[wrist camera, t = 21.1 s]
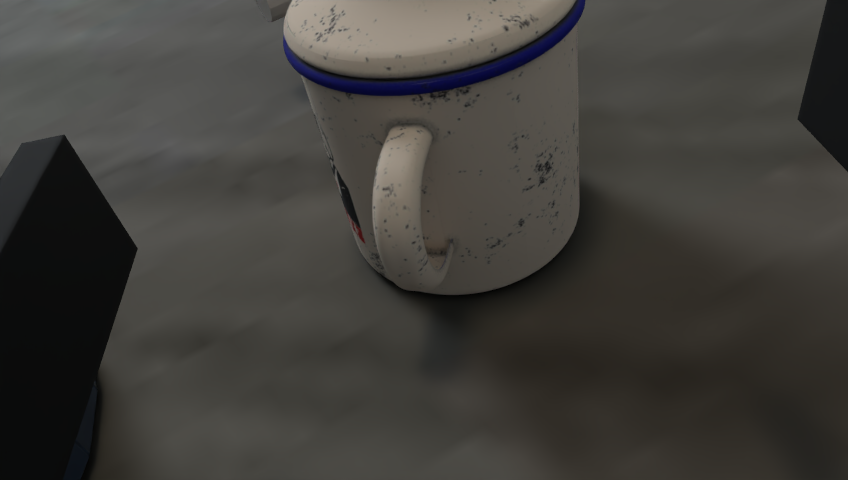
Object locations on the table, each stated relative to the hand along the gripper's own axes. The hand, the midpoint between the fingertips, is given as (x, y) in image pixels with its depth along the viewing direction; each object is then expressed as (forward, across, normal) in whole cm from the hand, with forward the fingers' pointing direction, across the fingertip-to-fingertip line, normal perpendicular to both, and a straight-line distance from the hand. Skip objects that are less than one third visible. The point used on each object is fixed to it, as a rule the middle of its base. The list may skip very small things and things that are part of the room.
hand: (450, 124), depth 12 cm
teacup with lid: (+8, 0, -11) cm, 13 cm away
